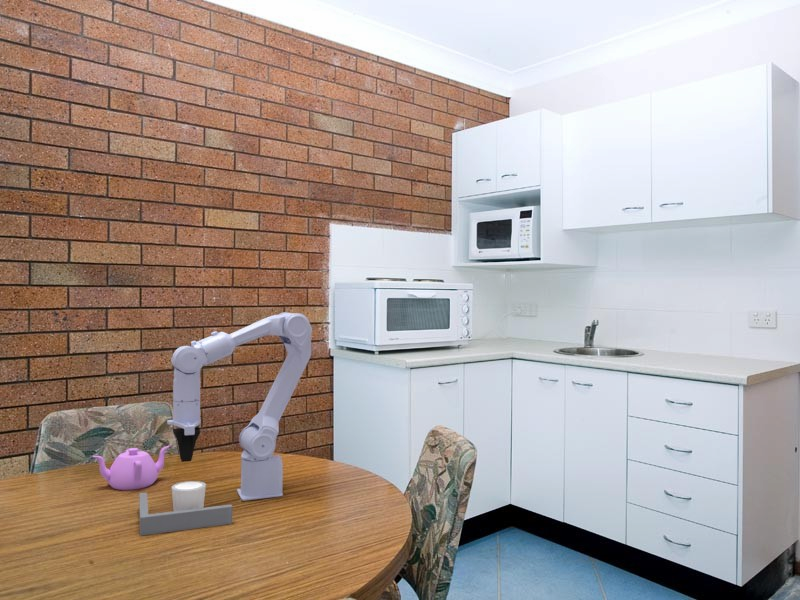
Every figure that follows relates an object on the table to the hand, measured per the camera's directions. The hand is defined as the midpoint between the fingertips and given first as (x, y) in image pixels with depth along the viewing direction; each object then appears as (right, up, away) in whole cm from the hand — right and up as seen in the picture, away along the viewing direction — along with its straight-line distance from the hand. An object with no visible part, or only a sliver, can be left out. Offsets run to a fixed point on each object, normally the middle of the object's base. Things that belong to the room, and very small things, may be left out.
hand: (186, 460), depth 136 cm
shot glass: (+3, -10, -8) cm, 13 cm away
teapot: (-18, -10, +14) cm, 25 cm away
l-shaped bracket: (+3, -10, -7) cm, 12 cm away
